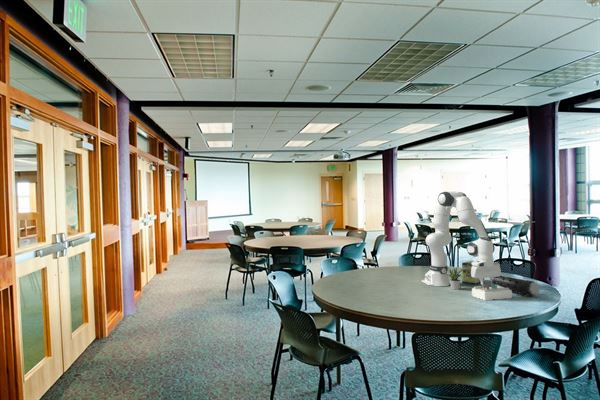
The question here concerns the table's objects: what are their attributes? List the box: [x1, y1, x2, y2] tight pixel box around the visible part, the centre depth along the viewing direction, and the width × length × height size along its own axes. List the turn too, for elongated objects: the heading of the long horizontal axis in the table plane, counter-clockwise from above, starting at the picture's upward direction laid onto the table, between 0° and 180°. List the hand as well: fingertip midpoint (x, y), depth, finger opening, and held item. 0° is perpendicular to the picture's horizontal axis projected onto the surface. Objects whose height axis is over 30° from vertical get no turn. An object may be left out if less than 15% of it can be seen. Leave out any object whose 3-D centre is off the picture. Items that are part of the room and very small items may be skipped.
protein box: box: [461, 260, 485, 286], centre depth 293 cm, size 10×16×16 cm
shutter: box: [489, 284, 504, 289], centre depth 251 cm, size 7×8×3 cm
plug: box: [481, 279, 491, 290], centre depth 249 cm, size 4×4×6 cm
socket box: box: [471, 285, 513, 301], centre depth 250 cm, size 12×20×6 cm, turn 104°
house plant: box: [447, 266, 465, 291], centre depth 272 cm, size 14×14×16 cm
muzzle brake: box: [492, 275, 540, 297], centre depth 259 cm, size 10×28×10 cm, turn 25°
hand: (486, 284), depth 249 cm, fingers closed on plug, 4 cm apart
